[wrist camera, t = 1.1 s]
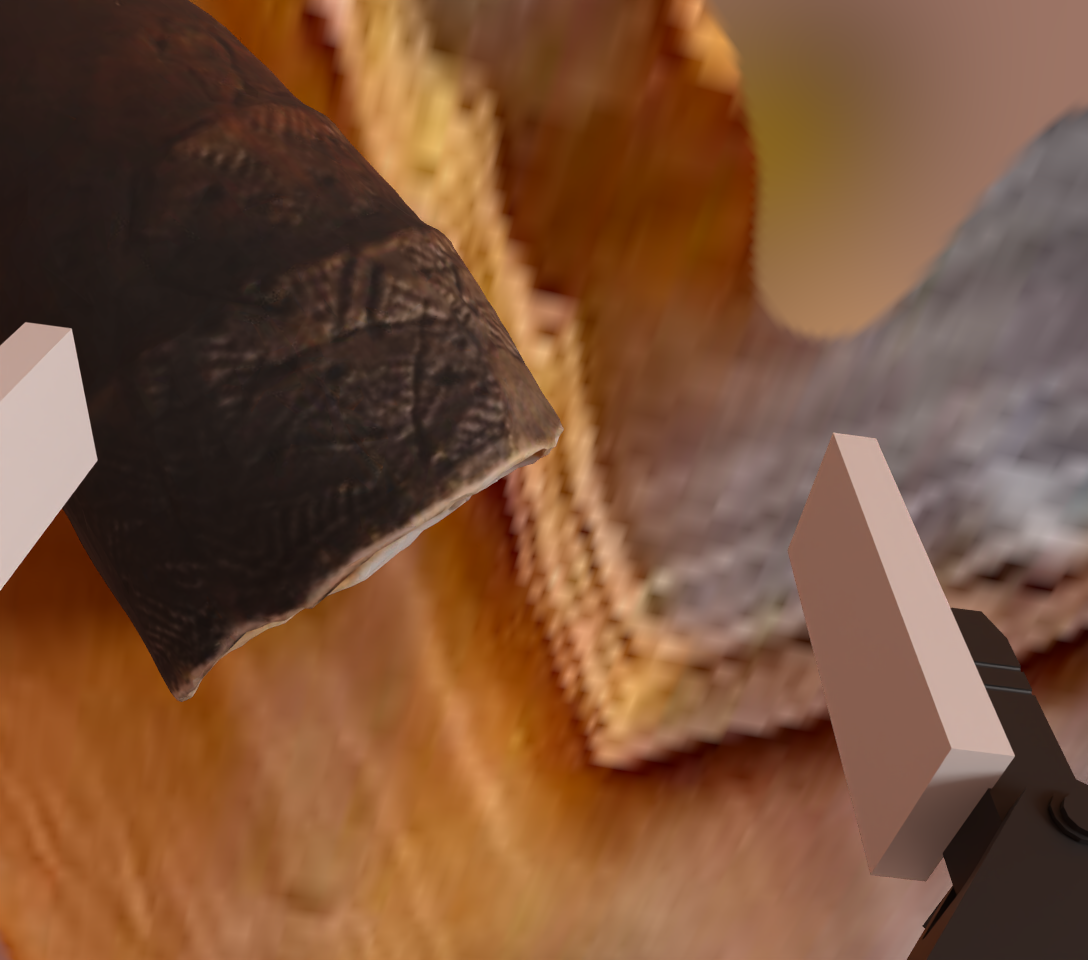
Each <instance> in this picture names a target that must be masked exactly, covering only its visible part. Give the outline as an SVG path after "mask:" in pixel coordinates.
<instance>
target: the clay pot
mask: <svg viewBox="0 0 1088 960" xmlns="http://www.w3.org/2000/svg"><path fill="white" fill-rule="evenodd" d="M25 322H27V323H35V324H42V325H49V326H57V327H64V328H71V329H72V333H73V338H74V343H75V348H76V353H77V358H78V363H79V368H80V373H81V379H82V384H83V389H84V394H85V399H86V404H87V409H88V414H89V419H90V424H91V430H92V435H93V440H94V445H95V450H96V455H97V462H96V463H95V464H94V466H93V467H92V468H91V470H90V471H89V472H88V474H87V475H86V476H85V478H84V479H83V481H82V482H81V483H80V485H79V486H78V487H77V489H76V490H75V491H74V493H73V494H72V495H71V497H70V498H69V499H68V501H67V502H66V503H65V505H64V506H63V507H62V508H63V510H64V511H65V513H66V515H67V516H68V518H69V519H70V521H71V523H72V525H73V527H74V529H75V531H76V533H77V535H78V537H79V539H80V541H81V543H82V545H83V547H84V548H85V550H86V552H87V554H88V555H89V557H90V559H91V560H92V562H93V564H94V566H95V567H96V569H97V571H98V572H99V573H100V575H101V576H102V578H103V579H104V581H105V582H106V584H107V585H108V587H109V588H110V590H111V591H112V593H113V594H114V596H115V598H116V599H117V601H118V602H119V603H120V605H121V606H122V608H123V609H124V611H125V612H126V614H127V615H128V617H129V618H130V619H131V621H132V623H133V625H134V626H135V628H136V630H137V631H138V633H139V635H140V636H141V638H142V640H143V642H144V643H145V645H146V647H147V649H148V651H149V652H150V654H151V656H152V658H153V660H154V662H155V664H156V666H157V668H158V670H159V672H160V674H161V676H162V678H163V679H164V681H165V683H166V685H167V686H168V688H169V690H170V692H171V693H172V694H173V695H174V697H175V698H176V699H177V700H178V701H181V702H182V701H185V700H187V699H190V698H191V697H192V696H193V695H194V693H195V692H196V690H197V688H198V686H199V684H200V682H201V680H202V678H203V677H204V676H205V675H206V674H207V673H208V672H209V671H210V670H211V668H212V667H213V666H214V665H215V664H216V663H217V662H218V661H219V660H220V659H221V658H222V657H224V656H225V655H226V654H228V653H229V652H231V651H233V650H235V649H237V648H239V647H241V646H242V645H244V644H245V643H246V642H247V641H249V640H250V639H252V638H253V637H255V636H257V635H258V634H260V633H262V632H263V631H265V630H267V629H269V628H272V627H275V626H278V625H281V624H284V623H286V622H287V621H288V620H289V619H291V618H292V617H293V616H294V615H295V614H297V613H298V612H300V611H301V610H303V609H304V608H311V609H312V608H313V607H314V606H315V605H317V604H318V603H319V602H320V601H321V600H323V599H324V598H325V597H326V596H328V595H330V594H332V593H335V592H338V591H340V590H343V589H346V588H349V587H351V586H353V585H355V584H357V583H360V582H362V581H364V580H366V579H367V578H368V577H370V576H371V575H372V574H373V573H374V572H376V571H377V570H378V569H379V568H381V567H382V566H383V565H384V564H385V563H387V562H388V561H389V560H390V559H391V558H393V557H394V556H395V555H396V554H397V553H399V552H400V551H402V550H403V549H405V548H406V547H408V546H409V545H410V544H411V543H412V542H413V541H414V540H415V539H416V538H417V537H418V535H419V534H420V533H421V532H422V531H423V530H425V529H427V528H428V527H430V526H432V525H434V524H436V523H437V522H439V521H440V520H441V519H443V518H444V517H446V516H447V515H448V514H450V513H451V512H453V511H454V510H456V509H457V508H458V507H460V506H461V505H462V504H463V503H465V502H466V501H468V500H469V498H470V497H471V496H472V495H474V494H476V493H478V492H479V491H481V490H483V489H485V488H487V487H489V486H490V485H491V484H493V483H495V482H497V481H498V479H500V478H502V477H504V476H505V475H507V474H509V473H511V472H512V471H514V470H516V469H517V468H519V467H523V466H526V465H530V464H533V463H535V462H536V461H537V460H538V459H540V458H542V457H544V456H546V455H548V454H549V453H550V451H551V449H552V448H554V447H556V444H557V441H558V438H559V435H560V434H561V433H562V431H563V430H564V429H563V427H562V425H561V422H560V419H559V417H558V416H557V414H556V413H555V411H554V409H553V408H552V406H551V405H550V403H549V402H548V401H547V399H546V398H545V396H544V395H543V393H542V391H541V390H540V388H539V386H538V384H537V383H536V381H535V379H534V378H533V376H532V374H531V372H530V371H529V369H528V368H527V366H526V365H525V363H524V361H523V359H522V357H521V355H520V354H519V352H518V350H517V348H516V346H515V344H514V343H513V341H512V339H511V337H510V336H509V334H508V332H507V330H506V329H505V327H504V326H503V324H502V323H501V321H500V319H499V317H498V315H497V314H496V312H495V310H494V309H493V307H492V306H491V305H490V303H489V302H488V300H487V299H486V297H485V295H484V294H483V292H482V290H481V288H480V287H479V285H478V284H477V282H476V281H475V279H474V278H473V276H472V274H471V273H470V271H469V270H468V268H467V267H466V265H465V264H464V262H463V261H462V259H461V258H460V256H459V255H458V253H457V252H456V250H455V249H454V247H453V245H452V243H451V241H450V240H449V239H448V238H447V237H446V236H445V235H444V234H443V233H441V232H440V231H439V230H437V229H435V228H433V227H431V226H429V225H427V224H425V223H424V222H423V221H421V220H420V219H419V218H418V216H417V215H416V214H415V213H414V212H413V211H412V210H411V209H410V208H409V207H408V206H407V205H406V203H405V202H404V201H403V200H402V199H401V197H400V196H399V195H398V194H397V192H396V191H395V190H394V189H393V188H392V187H391V186H390V185H389V184H388V183H387V182H386V181H385V180H384V179H383V178H382V177H381V176H380V175H379V174H378V172H377V171H376V170H375V169H374V168H373V167H372V166H371V165H370V164H369V163H368V162H367V161H366V160H365V158H364V157H363V156H362V155H361V154H360V153H359V152H358V151H357V150H356V149H355V148H354V147H353V146H352V144H351V143H350V142H349V141H348V140H347V139H346V138H345V136H344V135H343V134H342V133H341V131H340V130H339V129H338V128H337V127H336V125H335V124H334V123H333V122H332V121H331V120H330V119H329V118H328V117H327V116H325V115H323V114H322V113H320V112H318V111H316V110H314V109H312V108H310V107H309V106H307V105H305V104H303V103H302V102H301V101H299V100H298V99H297V98H296V97H295V96H293V94H292V93H291V92H290V91H289V90H288V89H287V88H286V87H285V86H284V85H283V84H282V83H281V82H280V81H279V79H278V78H277V77H276V76H275V75H274V74H273V73H272V72H271V71H270V70H269V69H268V68H267V67H266V66H265V65H264V64H263V63H262V62H261V61H260V60H258V59H257V58H256V57H255V56H254V55H253V54H252V53H251V52H250V51H249V50H248V49H247V48H246V47H245V46H244V45H243V44H242V43H241V42H240V41H239V40H238V39H237V38H236V37H235V36H234V35H233V34H232V33H231V32H230V31H229V30H228V29H227V28H226V27H224V26H223V25H222V24H220V23H219V22H217V21H216V20H215V19H214V18H213V17H212V16H211V15H209V14H208V13H206V12H205V11H203V10H202V9H200V8H199V7H197V6H196V5H194V4H193V3H191V2H190V1H188V0H0V345H2V344H3V343H4V342H5V341H6V340H7V339H8V338H9V337H10V336H11V335H12V334H13V333H14V332H16V331H17V330H18V329H19V328H20V327H21V326H22V325H23V324H24V323H25Z"/></svg>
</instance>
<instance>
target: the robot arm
mask: <svg viewBox="0 0 1088 960" xmlns="http://www.w3.org/2000/svg"><path fill="white" fill-rule="evenodd" d="M96 462H97V455H96V450H95V445H94V440H93V435H92V430H91V424H90V419H89V414H88V409H87V404H86V399H85V394H84V389H83V384H82V379H81V373H80V368H79V363H78V358H77V353H76V348H75V343H74V338H73V333H72V329H71V328H64V327H57V326H49V325H42V324H35V323H27V322H25V323H24V324H23V325H22V326H21V327H20V328H19V329H18V330H17V331H16V332H14V333H13V334H12V335H11V336H10V337H9V338H8V339H7V340H6V341H5V342H4V343H3V344H2V345H0V590H1V589H2V588H3V586H4V585H5V584H6V582H7V581H8V580H9V578H10V577H11V576H12V574H13V573H14V572H15V570H16V569H17V568H18V566H19V565H20V564H21V562H22V561H23V560H24V558H25V557H26V556H27V554H28V553H29V552H30V550H31V549H32V548H33V546H34V545H35V543H36V542H37V541H38V539H39V538H40V537H41V535H42V534H43V533H44V531H45V530H46V529H47V527H48V526H49V525H50V523H51V522H52V521H53V519H54V518H55V517H56V515H57V514H58V513H59V511H60V510H61V509H62V507H63V506H64V505H65V503H66V502H67V501H68V499H69V498H70V497H71V495H72V494H73V493H74V491H75V490H76V489H77V487H78V486H79V485H80V483H81V482H82V481H83V479H84V478H85V476H86V475H87V474H88V472H89V471H90V470H91V468H92V467H93V466H94V464H95V463H96ZM788 554H789V558H790V562H791V566H792V569H793V573H794V577H795V581H796V585H797V589H798V593H799V597H800V601H801V605H802V609H803V612H804V616H805V620H806V624H807V628H808V632H809V636H810V640H811V644H812V648H813V652H814V656H815V659H816V663H817V667H818V671H819V675H820V679H821V683H822V687H823V691H824V695H825V699H826V702H827V706H828V710H829V714H830V718H831V722H832V726H833V730H834V734H835V738H836V742H837V745H838V749H839V753H840V757H841V761H842V765H843V769H844V773H845V777H846V781H847V785H848V788H849V792H850V796H851V800H852V804H853V808H854V812H855V816H856V820H857V824H858V828H859V832H860V835H861V839H862V843H863V847H864V851H865V855H866V859H867V863H868V867H869V871H870V875H875V876H884V877H893V878H901V879H910V880H919V881H927V879H928V878H929V876H930V875H931V874H932V872H933V871H934V869H935V868H936V866H937V865H938V864H939V862H940V861H941V859H942V858H943V857H944V859H945V862H946V865H947V868H948V871H949V874H950V877H951V880H952V884H953V886H952V887H951V889H950V890H949V891H948V893H947V894H946V895H945V897H944V898H943V899H942V901H941V902H940V903H939V905H938V906H937V907H936V909H935V910H934V911H933V913H932V914H931V915H930V917H929V918H928V919H927V921H926V922H925V923H924V925H923V927H924V928H925V930H924V932H923V933H922V935H921V937H920V938H919V940H918V942H917V943H916V945H915V947H914V948H913V950H912V952H911V953H910V955H909V957H908V958H907V960H1088V785H1086V784H1084V783H1082V782H1080V781H1078V780H1076V779H1075V777H1074V775H1073V773H1072V771H1071V769H1070V766H1069V764H1068V762H1067V760H1066V758H1065V756H1064V754H1063V752H1062V750H1061V748H1060V746H1059V744H1058V742H1057V740H1056V738H1055V736H1054V734H1053V732H1052V730H1051V728H1050V726H1049V724H1048V721H1047V719H1046V717H1045V715H1044V713H1043V711H1042V709H1041V707H1040V705H1039V703H1038V701H1037V699H1036V697H1035V696H1034V695H1032V694H1031V691H1032V689H1031V687H1030V685H1029V683H1028V681H1027V679H1026V676H1025V674H1024V672H1020V667H1021V666H1020V664H1019V662H1018V660H1017V658H1016V656H1015V654H1014V652H1013V650H1012V648H1011V646H1010V644H1009V642H1008V640H1007V638H1006V637H1005V636H1004V635H1003V634H1002V633H1001V632H1000V631H999V630H998V629H997V627H996V626H995V625H994V624H993V623H992V622H991V621H990V620H989V619H988V618H987V617H986V616H985V615H984V614H983V613H982V612H980V611H973V610H965V609H957V608H950V606H949V604H948V602H947V599H946V597H945V595H944V593H943V590H942V588H941V586H940V583H939V581H938V579H937V577H936V574H935V572H934V570H933V567H932V565H931V563H930V561H929V558H928V556H927V554H926V551H925V549H924V547H923V545H922V542H921V540H920V538H919V535H918V533H917V531H916V529H915V526H914V524H913V522H912V519H911V517H910V515H909V513H908V510H907V508H906V506H905V503H904V501H903V499H902V497H901V494H900V492H899V490H898V487H897V485H896V483H895V481H894V478H893V476H892V474H891V471H890V469H889V467H888V465H887V462H886V460H885V458H884V455H883V453H882V451H881V449H880V446H879V444H878V442H877V439H876V438H868V437H861V436H854V435H846V434H839V433H833V435H832V437H831V440H830V443H829V445H828V448H827V450H826V453H825V456H824V458H823V461H822V463H821V466H820V468H819V471H818V474H817V476H816V479H815V481H814V484H813V487H812V489H811V492H810V494H809V497H808V499H807V502H806V505H805V507H804V510H803V512H802V515H801V518H800V520H799V523H798V525H797V528H796V530H795V533H794V536H793V538H792V541H791V543H790V546H789V548H788Z"/></svg>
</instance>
